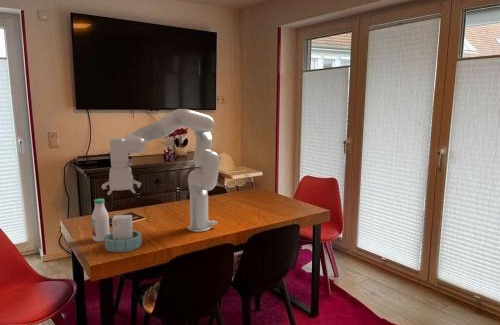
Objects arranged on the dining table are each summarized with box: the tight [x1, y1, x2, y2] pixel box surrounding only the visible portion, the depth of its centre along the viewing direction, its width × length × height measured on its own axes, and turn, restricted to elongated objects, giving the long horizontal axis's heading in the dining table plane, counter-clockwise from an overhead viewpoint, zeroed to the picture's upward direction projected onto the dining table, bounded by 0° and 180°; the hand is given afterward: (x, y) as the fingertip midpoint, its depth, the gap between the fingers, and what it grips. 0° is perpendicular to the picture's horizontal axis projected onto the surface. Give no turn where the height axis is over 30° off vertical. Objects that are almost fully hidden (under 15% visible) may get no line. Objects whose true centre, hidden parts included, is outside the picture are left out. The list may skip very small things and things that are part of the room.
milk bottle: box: [91, 198, 111, 243], centre depth 182 cm, size 8×8×20 cm
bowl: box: [103, 229, 143, 253], centre depth 175 cm, size 16×16×5 cm
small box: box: [111, 214, 134, 241], centre depth 174 cm, size 8×6×13 cm
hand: (122, 201), depth 172 cm, fingers open, 9 cm apart
